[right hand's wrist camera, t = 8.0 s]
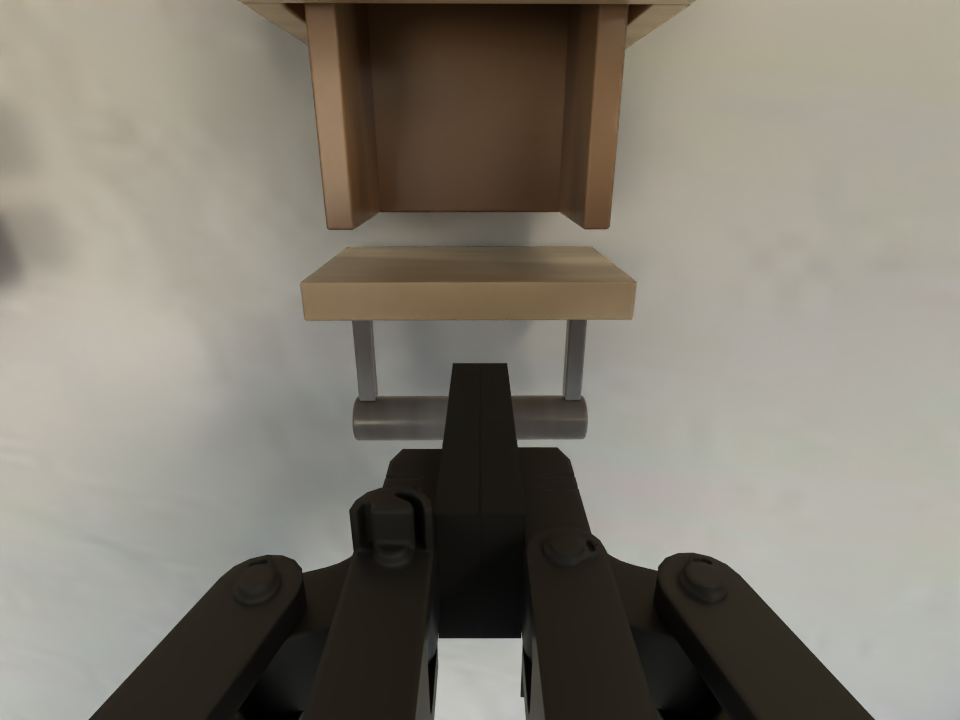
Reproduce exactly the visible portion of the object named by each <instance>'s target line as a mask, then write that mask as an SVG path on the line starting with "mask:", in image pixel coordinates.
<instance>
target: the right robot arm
mask: <svg viewBox="0 0 960 720" xmlns="http://www.w3.org/2000/svg"><path fill="white" fill-rule="evenodd" d="M349 513H350V522H351V531H352V540H353V550H354V552H353V555H352V556H351V557H350V558H348V559H346V560H344V561H342V562H340V563H338V564H335V565H332V566H329V567H325V568H321V569H317V570H313V571H309V572H305V573H302V568H301V567H300V566H299V565H298V564H297V562H296V561H295V560H293V559H291V558H288V557H285V556H283V555H265V556H260V557H256V558H251V559H249V560H247V561H245V562H242V563H240V564H238V565H236V566H234V567H233V568H232V569H230V570H229V571H228V572H227V573H226V574H224V575H223V576H222V577H221V578H220V579H219V580H218V581H217V582H216V583H215V584H214V585H213V586H212V587H211V588H210V589H209V591H208V592H207V593H206V594H205V595H204V596H203V597H202V598H201V599H200V600H199V601H198V602H197V603H196V605H195V606H194V607H193V608H192V609H191V610H190V611H189V612H188V613H187V614H186V615H185V616H184V617H183V619H182V620H181V621H180V622H179V623H178V624H177V625H176V626H175V627H174V628H173V629H172V630H171V631H170V633H169V634H168V635H167V636H166V637H165V638H164V639H163V640H162V641H161V642H160V643H159V644H158V645H157V647H156V648H155V649H154V650H153V651H152V652H151V653H150V654H149V655H148V656H147V657H146V658H145V659H144V661H143V662H142V663H141V664H140V665H139V666H138V667H137V668H136V669H135V670H134V671H133V672H132V674H131V675H130V676H129V677H128V678H127V679H126V680H125V681H124V682H123V683H122V684H121V685H120V686H119V688H118V689H117V690H116V691H115V692H114V693H113V694H112V695H111V696H110V697H109V698H108V699H107V700H106V702H105V703H104V704H103V705H102V706H101V707H100V708H99V709H98V710H97V711H96V712H95V713H94V714H93V716H92V717H91V718H90V719H89V720H434V713H435V700H436V687H437V675H438V650H437V643H438V633H439V638H521V633H522V640H523V650H522V675H521V697H524V700H525V713H526V720H875V719H874V718H873V717H872V716H871V715H870V714H869V713H868V712H867V711H866V710H865V709H864V708H863V707H862V705H861V704H860V703H859V702H858V701H857V700H856V699H855V698H854V697H853V696H852V695H851V694H850V693H849V692H848V690H847V689H846V688H845V687H844V686H843V685H842V684H841V683H840V682H839V681H838V680H837V679H836V678H835V677H834V675H833V674H832V673H831V672H830V671H829V670H828V669H827V668H826V667H825V666H824V665H823V664H822V663H821V662H820V661H819V659H818V658H817V657H816V656H815V655H814V654H813V653H812V652H811V651H810V650H809V649H808V648H807V647H806V646H805V644H804V643H803V642H802V641H801V640H800V639H799V638H798V637H797V636H796V635H795V634H794V633H793V632H792V631H791V629H790V628H789V627H788V626H787V625H786V624H785V623H784V622H783V621H782V620H781V619H780V618H779V617H778V616H777V614H776V613H775V612H774V611H773V610H772V609H771V608H770V607H769V606H768V605H767V604H766V603H765V602H764V601H763V599H762V598H761V597H760V596H759V595H758V594H757V593H756V592H755V591H754V590H753V589H752V588H751V587H750V586H749V585H748V583H747V582H746V581H745V580H744V579H743V578H742V577H741V576H740V575H739V574H738V573H736V572H735V571H734V570H733V569H732V568H730V567H729V566H728V565H727V564H725V563H723V562H720V561H718V560H716V559H714V558H712V557H710V556H705V555H701V554H696V553H677V554H675V555H672V556H669V557H667V558H665V559H664V561H663V562H662V563H661V564H660V565H659V567H658V571H656V570H651V569H647V568H643V567H639V566H635V565H632V564H628V563H625V562H622V561H620V560H618V559H616V558H614V557H612V556H610V555H609V554H608V553H607V551H606V549H605V548H604V546H603V544H602V543H601V541H600V540H599V539H598V538H596V537H595V536H594V535H592V534H591V531H590V527H589V524H588V520H587V517H586V513H585V510H584V507H583V503H582V500H581V496H580V493H579V489H578V486H577V482H576V479H575V477H574V472H573V468H572V465H571V462H570V459H569V458H568V457H567V456H566V455H565V454H564V453H563V452H562V451H560V450H559V449H558V448H557V447H518V446H517V438H516V430H515V423H514V415H513V407H512V399H511V391H510V383H509V375H508V367H507V363H453V367H452V375H451V383H450V391H449V399H448V407H447V415H446V423H445V430H444V438H443V446H442V449H402V450H401V451H400V452H399V453H398V454H397V455H396V456H395V457H394V458H393V459H392V460H391V461H390V464H389V467H388V471H387V474H386V479H385V481H384V484H383V487H382V488H379V489H376V490H373V491H370V492H368V493H366V494H364V495H363V496H362V497H360V498H359V499H357V500H356V501H355V502H354V504H353V505H352V507H351V508H350V510H349Z"/></svg>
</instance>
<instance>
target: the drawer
mask: <svg viewBox="0 0 960 720" xmlns="http://www.w3.org/2000/svg"><path fill="white" fill-rule="evenodd" d="M304 7H305V17H306V27H307V37H308V47H309V57H310V66H311V76H312V86H313V96H314V106H315V116H316V126H317V136H318V146H319V155H320V165H321V175H322V185H323V195H324V205H325V215H326V225H327V229H329V230H353V229H355V228H356V227H358V226H359V225H361V224H362V223H364V222H365V221H367V220H369V219H370V218H372V217H373V216H375V215H376V214H378V213H379V212H560V213H562V214H563V215H565V216H566V217H567V218H569V219H570V220H572V221H573V222H575V223H576V224H578V225H579V226H580V227H582V228H583V229H609V227H610V217H611V206H612V194H613V182H614V171H615V159H616V148H617V136H618V124H619V113H620V101H621V90H622V78H623V66H624V55H625V43H626V31H627V20H628V8H629V4H468V3H304ZM636 285H637V282H636V281H635V280H634V279H632V278H631V277H630V276H629V275H627V274H626V273H625V272H623V271H622V270H621V269H620V268H618V267H617V266H616V265H615V264H613V263H612V262H611V261H610V260H608V259H607V258H606V257H605V256H603V255H602V254H601V253H600V252H598V251H597V250H596V249H594V248H593V247H347V248H346V249H344V250H343V251H342V252H340V253H339V254H338V255H336V256H335V257H334V258H332V259H331V260H330V261H328V262H327V263H326V264H324V265H323V266H322V267H320V268H319V269H318V270H316V271H315V272H314V273H312V274H311V275H310V276H308V277H307V278H306V279H305V280H303V281H302V282H301V283H300V287H301V295H302V303H303V311H304V319H305V320H306V321H329V320H352V323H353V335H354V346H355V357H356V368H357V379H358V390H359V397H357V398H356V400H355V403H354V408H353V432H354V436H355V438H356V440H443V438H444V430H445V423H446V415H447V407H448V399H449V396H377V395H378V390H377V376H376V363H375V350H374V337H373V323H372V320H567V330H566V346H565V362H564V378H563V395H556V396H511V399H512V407H513V415H514V423H515V430H516V438H517V440H530V439H584V438H585V436H586V432H587V424H588V416H587V406H586V401H585V399H584V397H583V396H581V390H582V377H583V364H584V351H585V337H586V324H587V320H631V319H633V313H634V304H635V294H636Z"/></svg>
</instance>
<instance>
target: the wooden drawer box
mask: <svg viewBox="0 0 960 720" xmlns="http://www.w3.org/2000/svg"><path fill="white" fill-rule="evenodd" d="M238 1H240V2H242V3H243V4H245V5H246V6H248V7H249V8H251V9H252V10H254V11H255V12H257V13H258V14H260V15H262V16H263V17H265V18H266V19H268V20H269V21H271V22H272V23H274V24H275V25H277V26H279V27H280V28H282V29H283V30H285V31H286V32H288V33H289V34H291V35H292V36H294V37H296V38H297V39H299V40H300V41H302V42H303V43H305V44H306V45H308V37H307V27H306V17H305V7H304V3H468V4H629V8H628V20H627V31H626V43H625V49H626V48H627V47H629V46H630V45H632V44H633V43H635V42H636V41H638V40H639V39H641V38H642V37H644V36H645V35H647V34H648V33H650V32H651V31H653V30H654V29H655V28H657V27H658V26H660V25H661V24H663V23H664V22H666V21H667V20H669V19H670V18H672V17H673V16H675V15H676V14H678V13H679V12H681V11H682V10H683V9H685V8H686V7H688V6H689V5H690V4H691V3H693V2H694V1H696V0H238Z"/></svg>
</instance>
